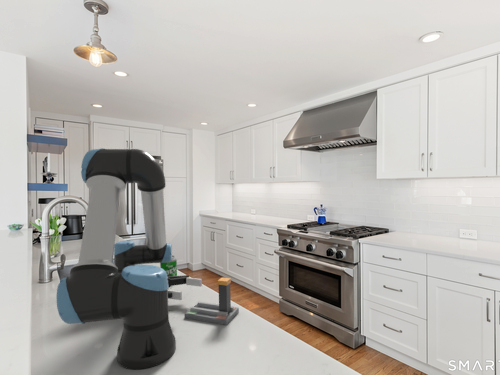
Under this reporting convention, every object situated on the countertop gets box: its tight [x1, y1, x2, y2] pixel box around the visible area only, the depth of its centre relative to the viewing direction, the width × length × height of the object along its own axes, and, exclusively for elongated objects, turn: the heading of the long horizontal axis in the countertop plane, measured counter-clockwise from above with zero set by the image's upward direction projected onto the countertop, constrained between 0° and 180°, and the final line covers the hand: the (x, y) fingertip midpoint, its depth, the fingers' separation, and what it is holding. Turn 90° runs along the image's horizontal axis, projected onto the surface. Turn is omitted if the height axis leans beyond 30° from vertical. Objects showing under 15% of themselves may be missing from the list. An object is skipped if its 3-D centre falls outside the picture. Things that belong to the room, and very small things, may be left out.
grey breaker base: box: [184, 301, 240, 326], centre depth 102 cm, size 10×16×3 cm, turn 69°
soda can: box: [159, 254, 178, 276], centre depth 137 cm, size 8×8×12 cm
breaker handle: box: [217, 277, 232, 313], centre depth 100 cm, size 3×3×11 cm
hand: (191, 288), depth 106 cm, fingers open, 13 cm apart
